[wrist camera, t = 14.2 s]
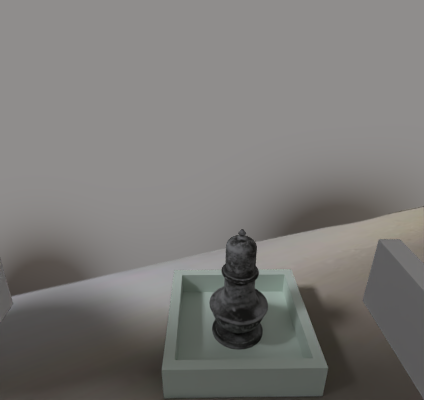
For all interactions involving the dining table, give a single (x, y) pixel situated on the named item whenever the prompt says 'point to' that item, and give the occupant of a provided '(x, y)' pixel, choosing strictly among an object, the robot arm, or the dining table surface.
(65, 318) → the dining table surface
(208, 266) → the dining table surface
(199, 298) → the tray
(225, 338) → the salt shaker
